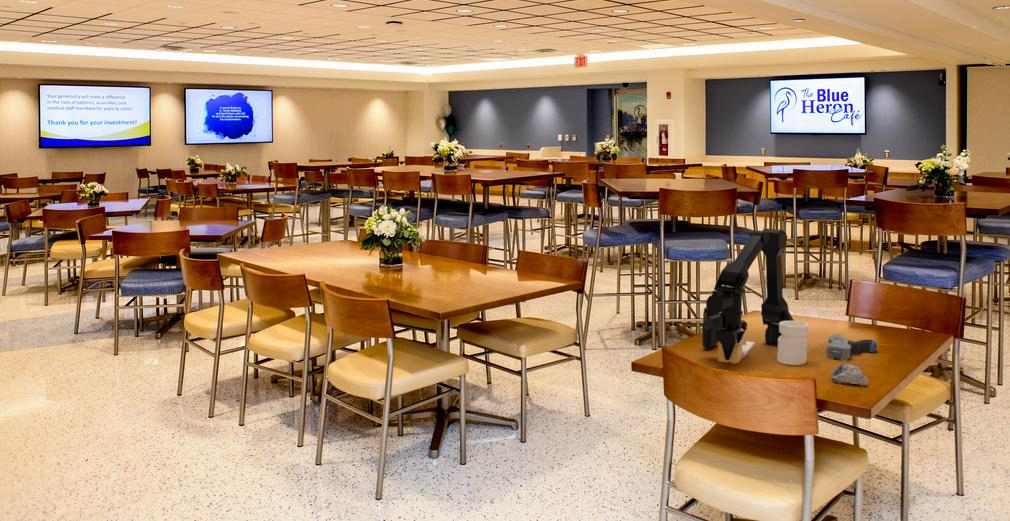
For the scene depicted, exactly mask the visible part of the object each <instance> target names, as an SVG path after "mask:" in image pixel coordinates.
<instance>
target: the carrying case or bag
mask: <svg viewBox="0 0 1010 521" xmlns="http://www.w3.org/2000/svg"><path fill="white" fill-rule="evenodd" d="M702 314H703V315H702V338H701V339H702V347H703V348H704V350H709V349H711V348H713V347H715V346H716V345H717V344H718V343H719V341H717V340H715V339H714V334H715V333H716V332H717V331H718V330H719V329H720V328H719V326H718V327H714V328H710V329H709V330H706V328H705V326H703V324H704V322H703V320H704V319H705V318H706V317H709V316H711V317H712V316H716V315H720V312H719V313H712V312H710V311H709V310H708V308H707V306H705V307H704V309H703V312H702Z"/></svg>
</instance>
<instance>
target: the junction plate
mask: <svg viewBox="0 0 1010 521" xmlns="http://www.w3.org/2000/svg"><path fill="white" fill-rule="evenodd" d="M740 343H742V358H744V357H746V356H745V355H748V353H749V352H750V351H751V350H752V349H753V348H754V347H755V344H756V341H748V340H747V333H746V332H745V333H744V335H743V337H742V339H741V341H740Z"/></svg>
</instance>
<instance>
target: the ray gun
mask: <svg viewBox="0 0 1010 521" xmlns="http://www.w3.org/2000/svg"><path fill="white" fill-rule="evenodd" d="M877 349H878V344H877V341H876V340H873V339H861V340H858V341H854V340H849V339H848V338H845V337H842V335H841V333H840V334H839V333H833V334H832V335H831V336H830V337H828V343H827V348H826V349H825V354H826V358H827V357H830V358H829V359H832V358H837V359H836V360H839V359H843V360H842V361H845V360H847V361H849V360H848V359H850V360H851V355H854V356H857V355H859V354H860V353H868V352H872V353H875V352H876V350H877Z"/></svg>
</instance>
